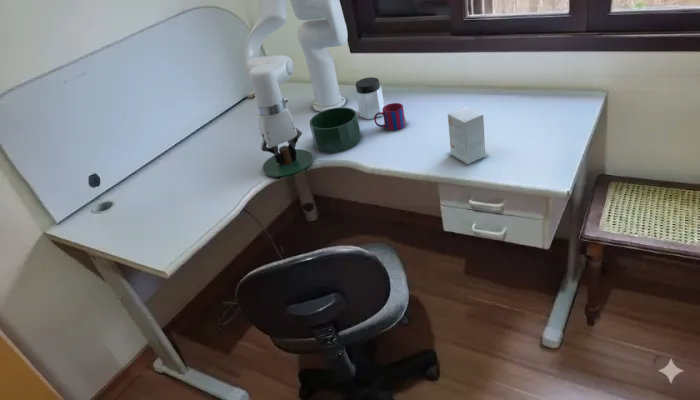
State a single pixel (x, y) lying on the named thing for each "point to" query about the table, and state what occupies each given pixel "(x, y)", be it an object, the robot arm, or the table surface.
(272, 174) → the tin lid
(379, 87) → the jar
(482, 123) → the small box
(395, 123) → the mug
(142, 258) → the table surface
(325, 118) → the tin
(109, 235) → the table surface
